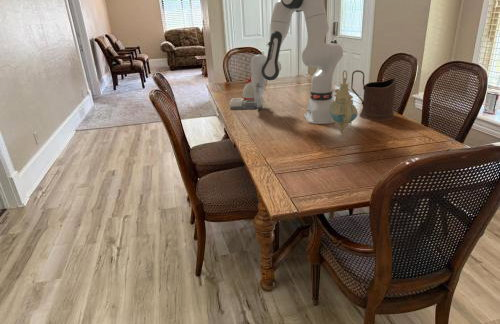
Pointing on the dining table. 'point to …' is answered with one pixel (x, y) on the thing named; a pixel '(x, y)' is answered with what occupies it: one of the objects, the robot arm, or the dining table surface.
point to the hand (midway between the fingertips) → (259, 104)
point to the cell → (260, 104)
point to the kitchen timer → (248, 91)
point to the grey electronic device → (242, 104)
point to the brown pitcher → (377, 99)
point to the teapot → (343, 106)
